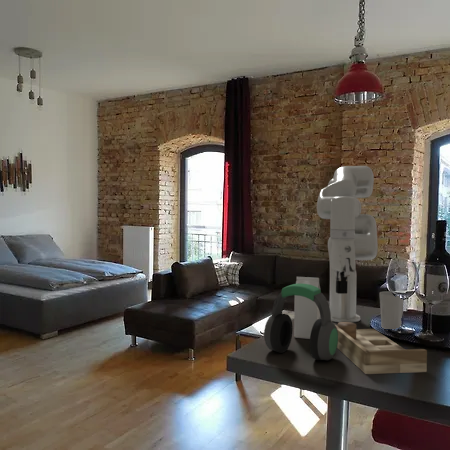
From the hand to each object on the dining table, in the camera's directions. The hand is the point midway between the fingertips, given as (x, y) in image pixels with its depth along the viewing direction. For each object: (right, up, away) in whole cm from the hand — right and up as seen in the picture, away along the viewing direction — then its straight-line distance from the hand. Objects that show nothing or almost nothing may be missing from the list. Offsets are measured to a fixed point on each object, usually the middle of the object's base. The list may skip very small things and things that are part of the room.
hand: (341, 293), depth 145 cm
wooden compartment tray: (+5, -15, -14) cm, 21 cm away
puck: (0, -12, -7) cm, 14 cm away
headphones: (-16, -15, -17) cm, 28 cm away
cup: (+20, -14, +11) cm, 26 cm away
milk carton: (-11, -14, +2) cm, 18 cm away
